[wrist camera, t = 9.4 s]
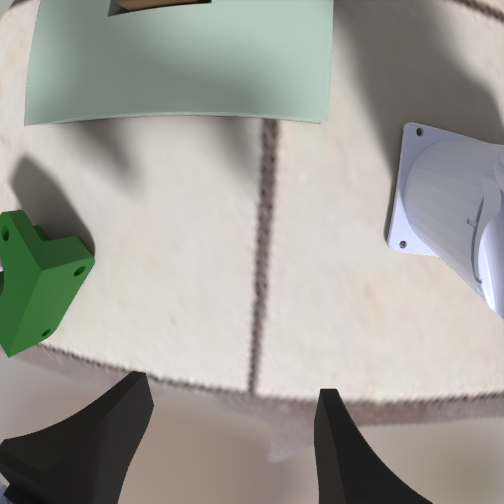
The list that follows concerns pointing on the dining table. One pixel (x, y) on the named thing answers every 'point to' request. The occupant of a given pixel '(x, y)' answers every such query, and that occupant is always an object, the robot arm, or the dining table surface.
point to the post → (155, 3)
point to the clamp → (36, 280)
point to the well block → (180, 60)
